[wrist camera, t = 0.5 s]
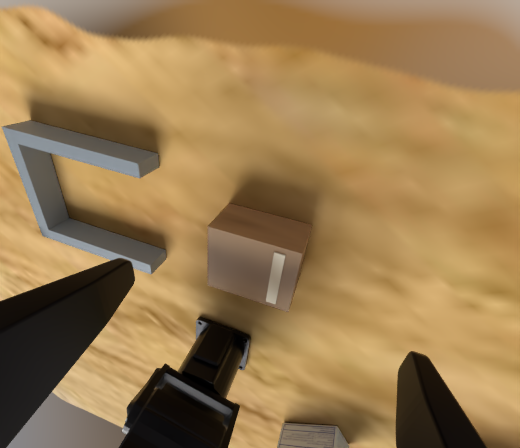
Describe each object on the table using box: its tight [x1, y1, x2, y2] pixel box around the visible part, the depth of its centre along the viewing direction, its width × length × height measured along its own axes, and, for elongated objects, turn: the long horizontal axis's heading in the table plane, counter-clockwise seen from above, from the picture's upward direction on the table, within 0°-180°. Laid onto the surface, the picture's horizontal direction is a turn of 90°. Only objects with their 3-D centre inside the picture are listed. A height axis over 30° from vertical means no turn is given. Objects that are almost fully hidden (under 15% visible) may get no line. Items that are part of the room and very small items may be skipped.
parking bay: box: [2, 120, 166, 274], centre depth 27 cm, size 11×13×2 cm
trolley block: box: [208, 203, 312, 312], centre depth 23 cm, size 6×7×4 cm
